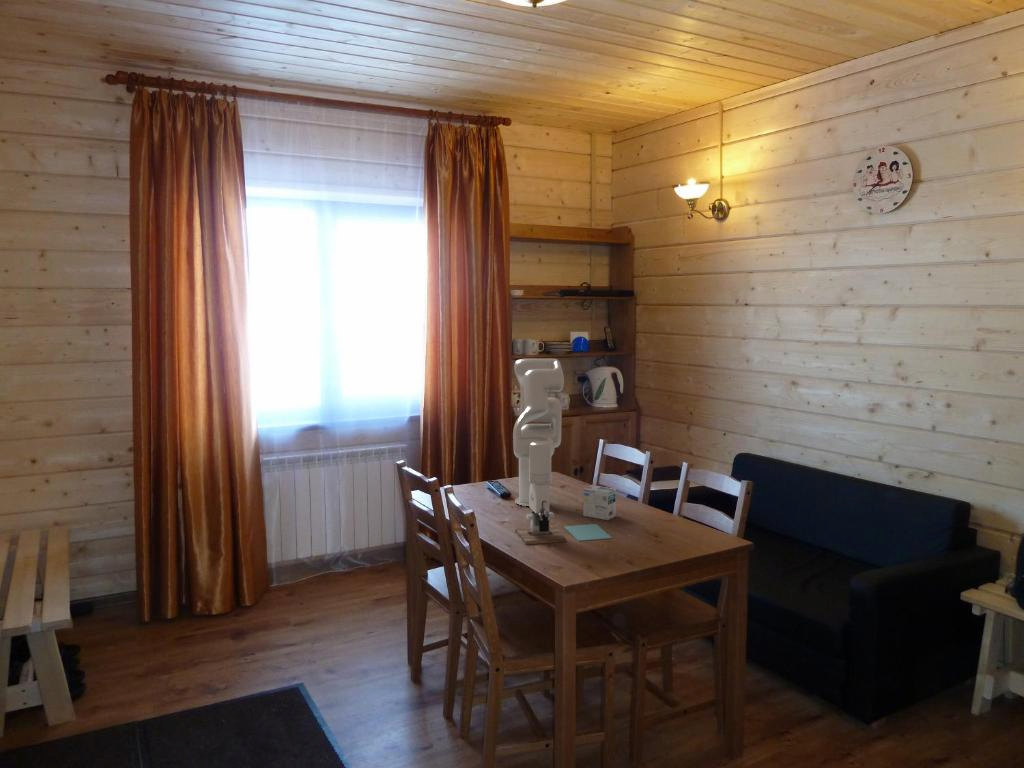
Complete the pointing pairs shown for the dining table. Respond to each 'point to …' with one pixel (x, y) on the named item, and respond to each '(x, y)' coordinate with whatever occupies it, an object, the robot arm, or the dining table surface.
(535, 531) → the metal T-key
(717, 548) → the dining table surface
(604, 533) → the teal mat
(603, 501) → the light bulb box
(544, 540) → the walnut slot plate
